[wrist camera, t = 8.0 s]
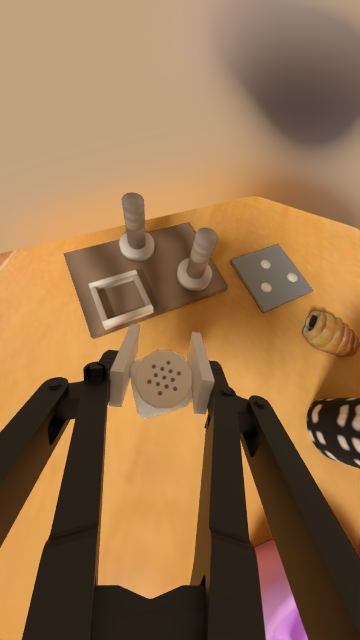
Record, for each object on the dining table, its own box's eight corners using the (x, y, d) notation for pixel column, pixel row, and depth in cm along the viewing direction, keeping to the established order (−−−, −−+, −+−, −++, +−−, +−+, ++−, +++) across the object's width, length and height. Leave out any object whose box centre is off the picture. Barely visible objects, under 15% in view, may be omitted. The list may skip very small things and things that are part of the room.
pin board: (93, 339, 30) (65, 309, 21) (66, 258, 35) (32, 202, 25) (225, 289, 37) (252, 249, 27) (187, 227, 41) (199, 172, 32)
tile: (263, 312, 36) (265, 310, 35) (229, 261, 39) (231, 258, 39) (311, 292, 39) (314, 289, 38) (276, 246, 43) (279, 242, 42)
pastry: (353, 335, 37) (374, 328, 33) (347, 367, 34) (369, 364, 31) (306, 311, 38) (322, 301, 34) (297, 341, 35) (313, 334, 32)
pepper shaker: (172, 362, 21) (188, 335, 12) (182, 402, 20) (209, 404, 11) (133, 372, 20) (121, 351, 11) (142, 415, 19) (135, 428, 10)
